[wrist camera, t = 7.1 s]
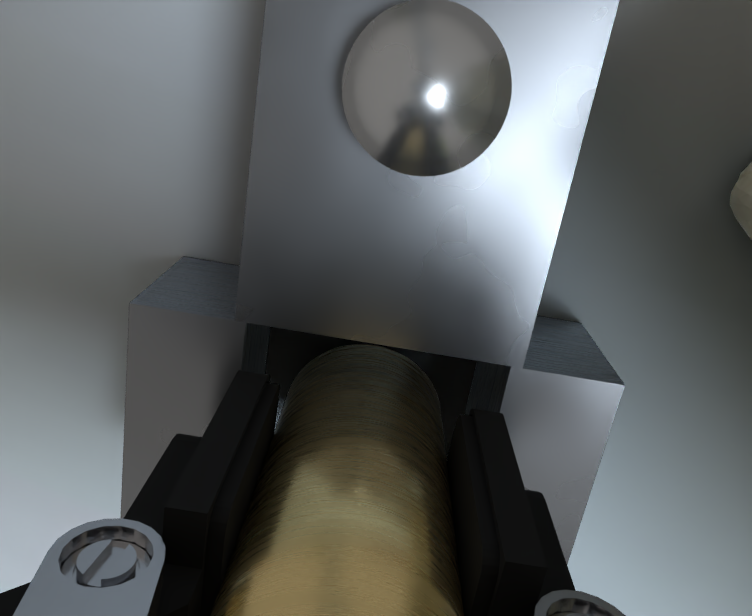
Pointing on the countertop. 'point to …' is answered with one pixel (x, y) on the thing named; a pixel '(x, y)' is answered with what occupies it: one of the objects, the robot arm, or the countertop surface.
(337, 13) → the grey metal bracket
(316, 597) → the brass pin
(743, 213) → the storage basket
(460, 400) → the countertop surface
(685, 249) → the countertop surface
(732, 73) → the countertop surface
